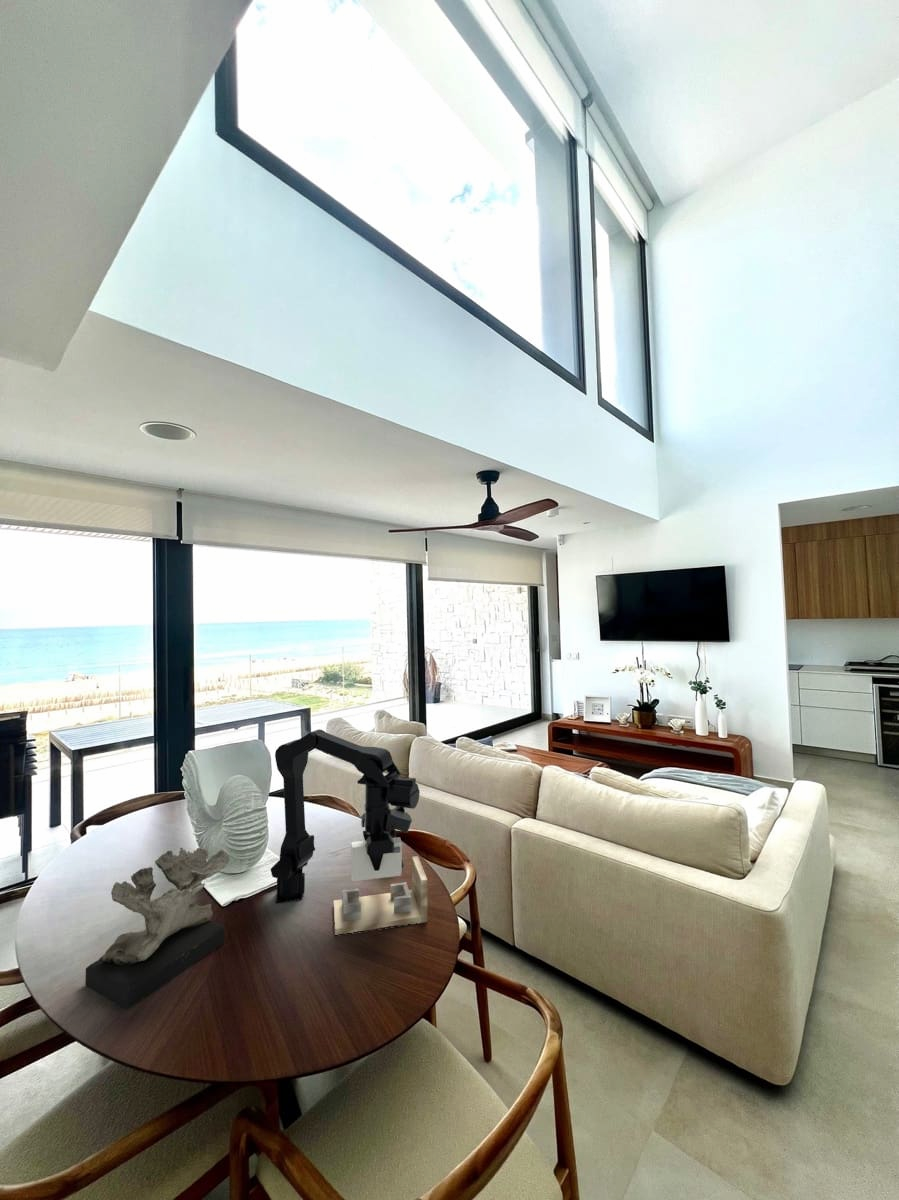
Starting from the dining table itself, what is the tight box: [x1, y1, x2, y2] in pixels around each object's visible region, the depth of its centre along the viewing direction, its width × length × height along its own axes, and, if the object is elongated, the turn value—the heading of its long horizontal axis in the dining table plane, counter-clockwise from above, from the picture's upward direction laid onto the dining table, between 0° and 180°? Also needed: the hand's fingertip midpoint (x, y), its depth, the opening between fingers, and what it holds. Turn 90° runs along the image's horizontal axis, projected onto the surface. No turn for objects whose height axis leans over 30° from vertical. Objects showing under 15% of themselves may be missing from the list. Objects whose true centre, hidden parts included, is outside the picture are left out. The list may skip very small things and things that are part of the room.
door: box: [350, 836, 403, 882], centre depth 122 cm, size 12×4×8 cm, turn 104°
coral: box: [84, 847, 230, 1011], centre depth 105 cm, size 25×20×22 cm
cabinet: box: [333, 855, 428, 936], centre depth 123 cm, size 22×12×10 cm, turn 105°
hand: (376, 866), depth 123 cm, fingers closed on door, 3 cm apart
